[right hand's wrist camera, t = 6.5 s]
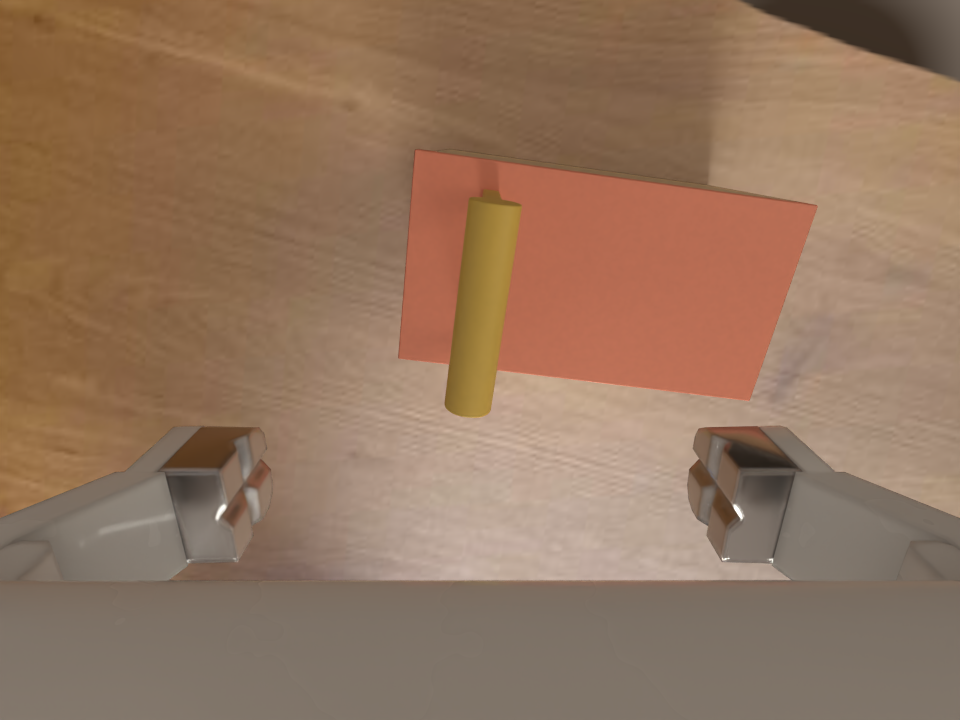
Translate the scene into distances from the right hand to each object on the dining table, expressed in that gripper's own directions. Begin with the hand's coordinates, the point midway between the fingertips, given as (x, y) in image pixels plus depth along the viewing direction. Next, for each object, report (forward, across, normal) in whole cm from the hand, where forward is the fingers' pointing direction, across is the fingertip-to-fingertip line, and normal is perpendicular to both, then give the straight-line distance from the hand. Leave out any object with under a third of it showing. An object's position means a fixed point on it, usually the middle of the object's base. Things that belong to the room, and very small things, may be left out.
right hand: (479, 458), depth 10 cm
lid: (+17, -5, +1) cm, 18 cm away
